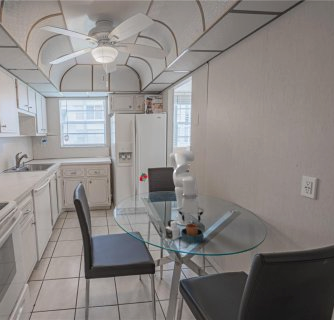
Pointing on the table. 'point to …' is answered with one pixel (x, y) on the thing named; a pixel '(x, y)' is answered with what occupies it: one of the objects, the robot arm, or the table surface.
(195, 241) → the dark teal bowl
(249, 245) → the table surface
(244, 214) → the table surface
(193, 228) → the orange mug
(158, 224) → the table surface
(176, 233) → the medicine bottle
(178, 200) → the robot arm
